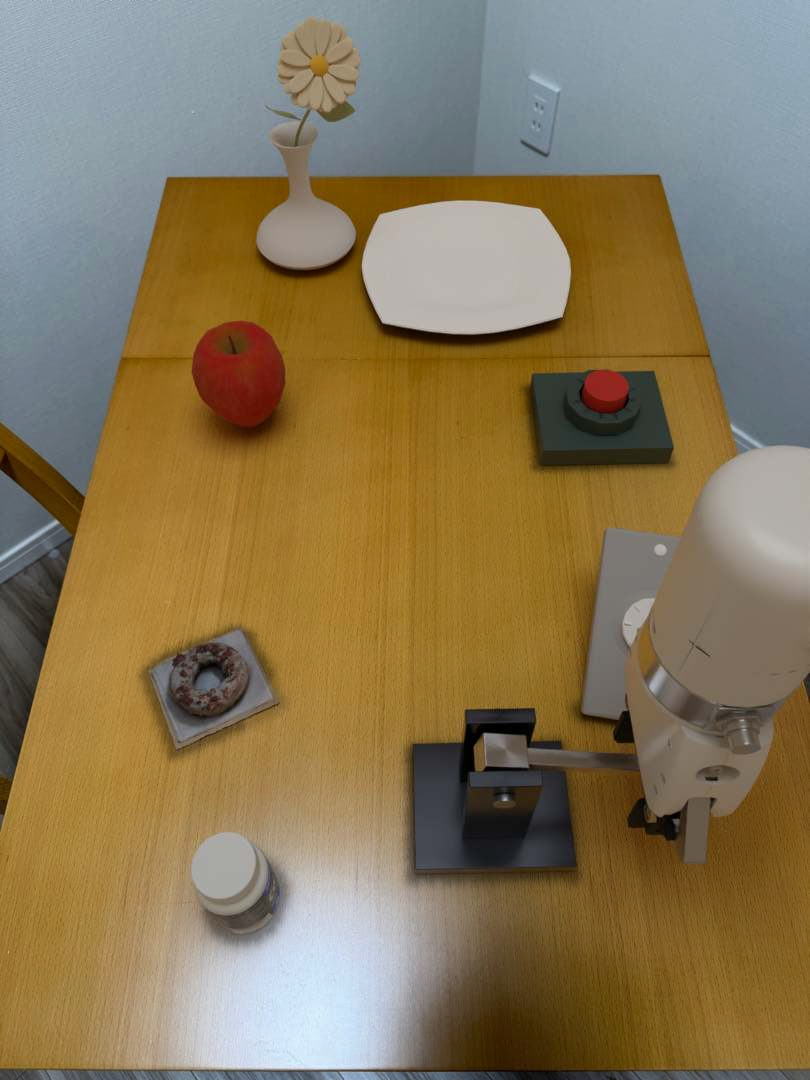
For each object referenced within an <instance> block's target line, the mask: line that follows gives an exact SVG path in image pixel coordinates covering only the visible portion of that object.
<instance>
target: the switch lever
mask: <svg viewBox="0 0 810 1080" xmlns="http://www.w3.org/2000/svg"><path fill="white" fill-rule="evenodd" d="M633 737H634V734H633ZM634 742H635V740H634ZM634 748H635V749H636V745H635V744H634ZM474 760H475V771H519V770H545V771H564V772H565V773H585V774H586V773H587V774H600V775H601V774H602V775H603V774H604V775H621V776H622V775H623V776H639V777H640V780H641V787H642V793H643V798H646V797H645V793H644V788H643V783H642V778H641V773H640V767H639V762H638V756H637V751H636V750H635V753H624V752H623V753H621V752H608V751H607V752H606V751H605V752H604V751H588V750H587V751H586V750H573V749H572V750H571V749H562V750H556V749H539V748H527V740H526V735H518V734H502V733H485V732H484V733H483V734H482V735H481V737H480V738H479V739H478V741H477V742H476V744H475V745H474Z"/></svg>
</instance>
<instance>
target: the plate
mask: <svg viewBox="0 0 810 1080" xmlns="http://www.w3.org/2000/svg"><path fill="white" fill-rule="evenodd" d="M366 240H367V241H366V244H365V246H364V250H363V254H362V261H361V270H362V271H361V273H362V278H363V282H364V285H365V288H366V292H367V294H368V296H369V299H370V301H371V303H372V305H373V308H374V311H375V312H376V314H377V315H378V318H379V320H380V322H381V323H382V325H384V326H390V327H396V328H401V329H406V330H413V331H419V332H424V333H429V334H430V333H431V334H441V335H451V336H482V335H493V334H494V335H495V334H500V333H505V332H511V331H517V330H520V329H525V328H529V327H534V326H537V325H542V324H546V323H549V322H552V321H556V320H560V319H562V318H563V316H564V312H565V310H566V306H567V302H568V298H569V293H570V287H571V277H572V268H571V266H572V265H571V258H570V255H569V252H568V251H567V247H566V246H565V244H564V241H563V240H562V238H561V236H560V235H559V233H558V232H557V230H556V229H555V227H554V226H553V224H552V222H550V220H549V218H548V217H547V216H546V215H545V214H544V213H543V211H542V209H540V208H537V207H531V206H524V205H518V204H511V203H504V202H497V201H495V202H494V201H484V200H447V201H438V202H432V203H425V204H419V205H415V206H409V207H405V208H400V209H397V210H392V211H388V212H384V213H380V214H379V215H378V217H377V219H376V220H375V223H374V224H373V227H372V229H371V231H370V233H369V235H368V238H367V239H366Z"/></svg>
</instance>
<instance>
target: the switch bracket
mask: <svg viewBox="0 0 810 1080" xmlns="http://www.w3.org/2000/svg"><path fill="white" fill-rule="evenodd" d="M463 713H464V715H463V723H462V733H461V734H462V735H461V742H432V743H431V742H430V743H427V742H426V743H424V742H423V743H412V770H413V771H412V776H413V778H412V779H413V784H412V785H413V824H414V825H413V826H414V829H413V830H414V869H415V870H414V871H415V872H414V873H415V875H434V874H435V875H437V874H439V875H440V874H443V875H444V874H484V873H485V874H487V873H488V874H489V873H535V872H536V873H538V872H539V873H541V872H543V873H544V872H574V871H576V868H577V866H578V865H577V856H576V849H575V842H574V841H575V840H574V833H573V825H572V817H571V810H570V802H569V801H570V800H569V793H568V784H567V777H566V772H564V771H545V770H519V771H475V760H474V745H475V744H476V742H477V741H478V739H479V738H480V737H481V735H482V734H483V733H484V732H485V733H502V734H518V735H526V740H527V748H539V749H556V750H563V745H562V740H533V735H534V731H535V729H536V724H537V715H536V708H535V707H521V708H520V707H519V708H516V707H515V708H514V707H513V708H500V707H499V708H498V707H497V708H467V709H464V712H463Z"/></svg>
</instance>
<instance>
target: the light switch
mask: <svg viewBox="0 0 810 1080" xmlns="http://www.w3.org/2000/svg"><path fill="white" fill-rule="evenodd" d="M680 538H681V536H677V535H671V534H670V535H668V534H662V533H656V532H648V531H640V530H633V529H626V528H618V527H611V526H609V527H606V528H605V529H604V531H603V536H602V544H601V550H600V558H599V560H600V561H599V566H598V573H597V575H598V576H597V582H596V588H595V589H596V590H595V595H594V596H595V598H594V604H593V612H592V620H591V628H590V635H589V641H588V651H587V658H586V666H585V673H584V681H583V687H582V688H583V689H582V695H581V704H580V712H581V713H582V714H583V715H584V716H591V717H597V718H603V719H609V720H616V721H618V720H619V717H620V715H621V713H622V711H627V709H626V706H625V693H626V685H625V674H624V668H625V662H626V658H627V655H628V652H629V650H630V647H631V645H632V643H633V641H634V638H635V637H636V635H637V629H638V628H641V626H642V624H643V622H644V621H645V620H646V618H647V617H648V615H649V612H650V610H651V607H652V605H653V603H654V600H655V598H656V595H657V593H658V591H659V588H660V586H661V583H662V581H663V579H664V576H665V574H666V571H667V569H668V566H669V564H670V562H671V559H672V557H673V554H674V552H675V550H676V547H677V545H678V542H679V540H680Z"/></svg>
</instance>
